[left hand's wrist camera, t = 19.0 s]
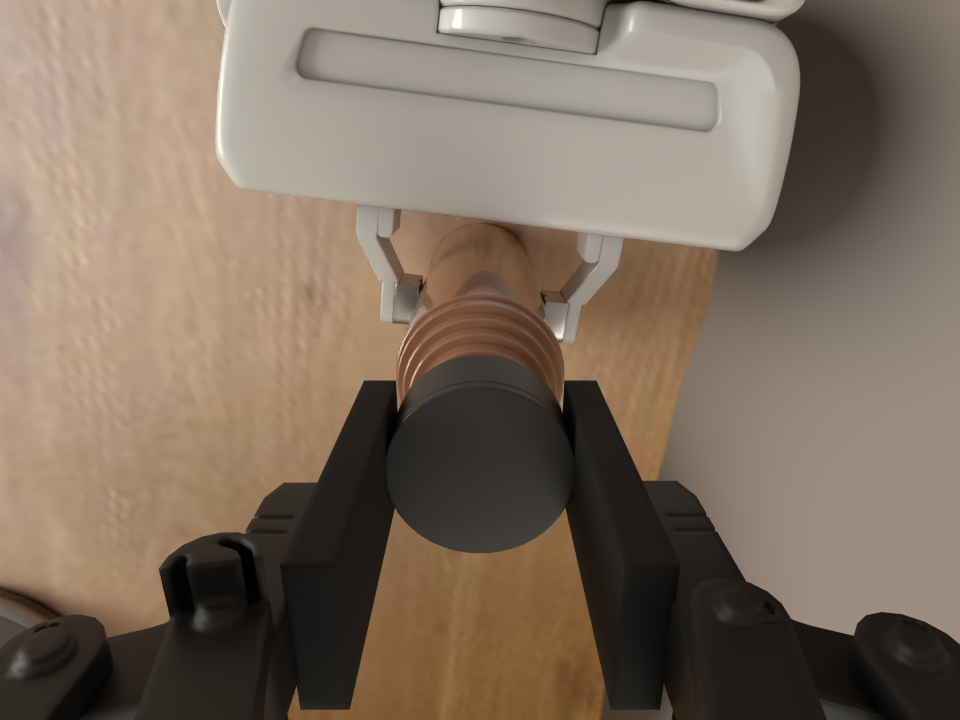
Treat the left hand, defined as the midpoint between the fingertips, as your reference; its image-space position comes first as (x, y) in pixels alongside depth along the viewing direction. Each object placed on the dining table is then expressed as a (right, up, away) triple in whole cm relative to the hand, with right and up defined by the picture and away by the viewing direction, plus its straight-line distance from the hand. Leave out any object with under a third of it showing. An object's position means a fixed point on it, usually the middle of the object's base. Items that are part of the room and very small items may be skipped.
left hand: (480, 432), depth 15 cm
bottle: (0, +6, +16) cm, 17 cm away
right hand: (0, +3, +10) cm, 11 cm away
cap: (0, -1, -2) cm, 2 cm away
